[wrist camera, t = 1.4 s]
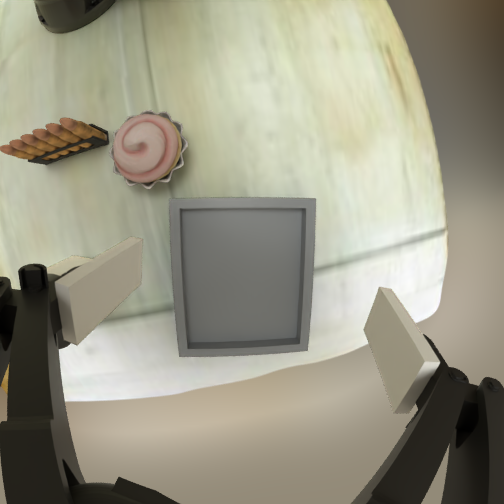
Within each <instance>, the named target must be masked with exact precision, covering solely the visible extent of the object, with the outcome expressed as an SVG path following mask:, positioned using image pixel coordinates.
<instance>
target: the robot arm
mask: <svg viewBox="0 0 504 504" xmlns="http://www.w3.org/2000/svg"><path fill="white" fill-rule="evenodd" d="M115 1H116V0H34V3H35V7H36V11H37V14H38V18H39V21H40V22H41V24H42V25H43V26H44V27H45V28H46V29H47V30H49V31H51V32H54V33H64V32H69V31H73V30H75V29H78V28H80V27H82V26H84V25H86V24H88V23H90V22H91V21H93V20H95V19H96V18H97V17H99V16H100V15H101V14H103V13H104V12H105V11H106V10H107V9H108V8H109V7H110V6H111V5H112V4H113V3H114V2H115ZM142 249H143V239H141V238H136V237H130V238H128V239H126V240H124V241H122V242H121V243H119V244H117V245H115V246H114V247H112V248H110V249H108V250H107V251H105V252H103V253H101V254H100V255H98V256H96V257H95V258H93V259H91V260H90V261H88V262H86V263H85V264H83V265H80V266H77V267H73V268H72V269H70V270H68V271H67V273H66V272H65V273H64V274H62V275H61V276H59V277H57V278H55V279H54V280H52V281H51V282H49V283H48V276H47V268H46V267H45V266H44V265H42V264H28V265H25V266H23V267H21V268H20V269H19V271H18V273H19V280H20V286H21V290H16V289H12V287H11V282H10V279H8V278H7V277H0V386H1V383H2V381H3V378H4V375H5V372H6V370H7V367H8V364H9V376H8V399H7V416H8V417H7V421H2V422H1V423H0V456H1V466H2V476H3V483H4V490H5V496H6V501H7V504H179V503H177V502H175V501H174V500H172V499H170V498H168V497H166V496H164V495H162V494H161V493H159V492H157V491H156V490H152V489H150V488H146V487H144V486H141V485H139V484H136V483H133V482H131V481H128V480H126V479H123V478H121V477H118V479H117V481H116V483H115V484H110V483H86V482H85V480H84V478H83V475H82V473H81V471H80V468H79V464H78V461H77V457H76V453H75V449H74V445H73V441H72V437H71V432H70V428H69V423H68V418H67V412H66V406H65V400H64V394H63V387H62V379H61V371H60V361H59V349H58V338H57V332H58V331H59V330H60V329H61V328H62V333H63V338H64V340H66V341H68V342H70V343H72V344H75V345H78V344H79V343H80V342H81V341H82V340H83V339H84V338H85V337H86V336H87V335H88V334H89V333H90V332H91V331H92V330H93V329H94V328H95V327H96V326H98V325H99V324H100V323H101V322H102V321H103V320H104V319H105V318H106V317H107V316H108V315H109V314H110V313H111V312H112V311H113V310H114V309H115V308H116V307H117V306H118V305H119V304H120V303H121V302H122V301H124V300H125V299H126V298H127V297H128V296H129V295H130V294H131V293H132V292H133V291H134V290H135V289H136V288H137V287H138V286H140V285H141V277H142ZM364 332H365V335H366V337H367V340H368V342H369V345H370V348H371V350H372V353H373V356H374V358H375V361H376V364H377V366H378V369H379V372H380V375H381V378H382V381H383V383H384V386H385V389H386V392H387V395H388V398H389V401H390V404H391V407H392V410H393V413H409V412H410V411H411V409H412V408H413V406H414V405H415V403H416V405H417V407H418V411H417V412H416V414H415V415H414V417H413V418H412V419H411V421H410V422H409V423H408V425H407V426H406V430H405V432H404V433H403V435H402V436H401V438H400V439H399V441H398V443H397V444H396V445H395V447H394V448H393V450H392V451H391V453H390V455H389V456H388V457H387V459H386V460H385V461H384V463H383V464H382V466H381V467H380V468H379V470H378V471H377V472H376V474H375V475H374V476H373V478H372V479H371V480H370V481H369V483H368V484H367V485H366V486H365V488H364V489H363V490H362V491H361V492H360V494H359V495H358V496H357V497H356V499H355V500H354V501H353V502H352V503H351V504H421V502H422V501H423V499H424V497H425V495H426V493H427V491H428V489H429V487H430V485H431V483H432V481H433V479H434V477H435V475H436V473H437V471H438V469H439V467H440V464H441V462H442V460H443V457H444V455H445V453H446V450H447V448H448V445H449V443H450V446H449V456H448V465H447V473H446V479H445V485H444V491H443V497H442V502H441V504H504V388H503V386H502V385H501V383H500V382H499V381H498V380H496V379H493V378H490V377H485V378H484V379H483V380H482V382H481V383H480V385H479V386H477V385H473V384H470V383H469V380H468V378H467V376H466V375H465V374H464V373H463V372H462V371H460V370H458V369H456V368H452V367H448V365H447V363H446V362H445V360H444V359H443V357H442V356H441V354H440V353H439V351H438V349H437V348H436V347H435V345H434V343H433V342H432V341H431V339H429V338H428V337H427V336H426V335H424V334H422V333H421V331H420V330H419V328H418V327H417V325H416V324H415V322H414V321H413V319H412V318H411V316H410V315H409V313H408V312H407V310H406V309H405V307H404V306H403V305H402V303H401V302H400V300H399V299H398V298H397V296H396V295H395V293H394V292H393V291H392V289H389V288H384V287H379V289H378V292H377V295H376V298H375V301H374V303H373V306H372V309H371V311H370V314H369V317H368V319H367V322H366V325H365V327H364ZM9 362H10V363H9Z"/></svg>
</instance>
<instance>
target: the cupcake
mask: <svg viewBox="0 0 504 504" xmlns="http://www.w3.org/2000/svg"><path fill="white" fill-rule="evenodd" d="M182 130H183V125H182V124H181V123H180V122H176V121H172V119H171V117H170V115H169V114H168V113H167V112H160V113H157V114H156V113H155V112H153V111H152V110H146V111H143V112H142V113H141V114H140V115H138V116H129V117H127V119H126V120H125V123H124V124H123V125H122V126H121V127H120V129H118V130H116V131H115V132H114V133H113V138H114V143H113V146H112V147H111V149H110V157H111V158H112V159H113V160H114V161H115V162H114V169H113V171H114V173H115V174H118V175H122V176H124V178H125V181H126V184H127V185H128V186H133V185H136V184H141V185H142V186H143V187H144V188H146V189H150V188H152V186H153V185H154V184H155V183H156V182H169V181H170V179H171V176H172V172H173V170H176V169H178V168H180V167H182V166H183V165H184V160H183V156H182V153H183V152H184V150H185V149H186V148H187V146H188V142H187V140H186V139H185V138H184V137H183V136H182Z"/></svg>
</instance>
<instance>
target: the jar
mask: <svg viewBox="0 0 504 504" xmlns="http://www.w3.org/2000/svg"><path fill="white" fill-rule="evenodd" d="M90 260H91V258H85V257H79V256H71V257H69V258H67V259H65V260H62V261H60V262H58V263H56V264H54V265H52V266H50V267H48V268H47V276H48V283H49V282H51V281H52V280H54V279H55V278H57V277H59V276H61V275H62V274H64V273H65V272H66V273H67V271H68V270H70V269H72V268H73V267H77V266H80V265H83V264H85V263H86V262H88V261H90ZM57 338H58V349H62V348H65V347H67V346H68V345H70V344H71V343H70V342H68V341H66V340H64V338H63V333H62V328H61V329H60V330H59V331H58V332H57Z"/></svg>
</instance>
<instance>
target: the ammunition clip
mask: <svg viewBox="0 0 504 504" xmlns="http://www.w3.org/2000/svg"><path fill="white" fill-rule="evenodd" d="M60 123H61V125H59V124H55V123H50V124H47V125H46V129H47V130H45V129H35V130H33V134H34V135H32V134H26V135H22V136H21V139H22V140H12V141H10V145H3V146H1V147H0V150H1V151H2V152H3V153H5V154H8V155H12V156H16V157H18V158H22V159H28V162H33V163H39V164H45V165H47V164H50V163H52V162H55V161H58V160H61V159H63V158H66V157H69V156H72V155H75V154H78V153H81V152H84V151H87V150H90V149H94V148H97V147H100V146H104V145H107V144H109V139H108V131H106V130H104V129H102V128H100V127H98V126H96V125H93V124H89V125H87V124H85V123H83V122H81V121H76V120H73V119H71V118H61V119H60Z"/></svg>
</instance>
